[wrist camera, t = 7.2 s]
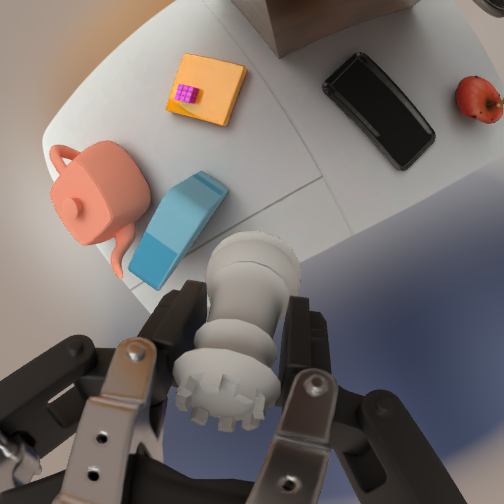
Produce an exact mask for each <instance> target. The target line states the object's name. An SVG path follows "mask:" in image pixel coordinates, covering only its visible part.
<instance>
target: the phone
mask: <svg viewBox="0 0 504 504" xmlns="http://www.w3.org/2000/svg"><path fill="white" fill-rule="evenodd" d="M322 87H323V91H324V93H325V94H326V95H327V96H328V97H329V98H330V99H331V100H332V101H333V102H335V103H336V104H337V105H338V106H339V107H340V108H341V109H342V110H343V111H344V112H345V113H346V114H347V115H348V116H349V117H350V118H351V119H352V120H353V121H354V122H355V123H356V124H357V125H358V126H359V127H360V128H361V129H362V131H363V132H364V133H365V134H366V135H367V136H368V137H369V138H370V139H371V140H372V141H373V143H374V144H375V145H376V146H377V147H378V148H379V149H380V150H381V152H382V153H383V154H384V155H385V156H386V157H387V159H388V160H389V161H390V162H391V163H392V165H393V166H394V167H395V168H397V169H399V170H401V171H404V170H407V169H408V168H409V167H410V166H411V165H412V164H413V163H414V162H415V161H416V160H417V159H418V158H419V157H420V156H421V155H422V154H423V153H424V152H425V151H426V150H427V149H428V148H429V147H430V146H431V145H432V144H433V143H434V141H435V138H436V135H435V132H434V130H433V129H432V128H431V126H430V125H429V124H428V122H427V121H426V120H425V118H424V117H423V116H422V115H421V113H420V112H419V111H418V110H417V108H416V107H415V106H414V105H413V103H412V102H411V101H410V100H409V99H408V98H407V96H406V95H405V94H404V93H403V92H402V91H401V90H400V88H399V87H398V86H397V85H396V84H395V83H394V82H393V81H392V80H391V79H390V78H389V77H388V75H387V74H386V73H385V72H384V71H383V70H382V69H381V68H380V67H379V66H378V65H377V64H376V63H375V62H374V61H373V60H372V59H370V58H369V57H368V56H367V55H366V54H364V53H362V52H358V53H355V54H354V55H353V56H352V57H350V58H349V59H348V60H347V61H346V62H345V63H344V64H343V65H342V66H341V67H340V68H339V69H337V70H336V71H335V72H334V73H333V74H332V75H331V76H330V77H329V78H328V79H327V80H326V81H325V82H324V84H323V86H322Z"/></svg>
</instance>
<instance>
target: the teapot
mask: <svg viewBox="0 0 504 504" xmlns="http://www.w3.org/2000/svg"><path fill="white" fill-rule="evenodd" d="M49 155H50V159H51V161H52V163H53V165H54V167H55V168H56V170H57V171H58V173H59V174H60V176H59V177H58V178H57V180H56V181H55V183H54V184H53V186H52V188H51V191H50V196H51V200H52V203H53V205H54V207H55V209H56V211H57V213H58V215H59V217H60V219H61V221H62V222H63V224H64V225H65V227H66V228H67V229H68V231H69V232H70V233H71V235H72V236H73V237H74V238H75V239H76V240H77V241H78V242H79V243H81V244H82V245H93V244H97V243H101V242H104V241H107V240H109V239H111V238H113V237H115V240H116V247H115V249H114V250H113V252H112V254H111V265H112V268H113V270H114V272H115V274H116V275H117V276H118V277H119V278H120V279H122V278H123V272H122V266H121V263H122V258H123V256H124V254H125V253H126V251H127V250H128V249H129V247H130V246H131V245H132V243H133V241H134V239H135V236H136V224H135V222H136V221H137V220H138V219H139V218H140V217H141V216H142V215H143V214H144V213H145V212H146V211H147V209H148V207H149V205H150V202H151V194H150V187H149V185H148V183H147V182H146V181H145V179H144V177H143V175H142V173H141V171H140V169H139V168H138V166H137V165H136V163H135V162H134V161H133V159H132V158H131V157H130V156H129V155H128V153H127V152H126V151H125V150H124V149H123V148H122V147H120V146H119V145H118V144H116V143H114V142H112V141H108V140H106V141H101V142H98V143H96V144H94V145H92V146H90V147H88V148H87V149H85V150H84V151H83V152H81V153H80V152H78V151H76V150H74V149H72V148H70V147H67V146H64V145H54V146H52V147H51V149H50V151H49ZM61 157H63V158H67V159H70V160H72V161H71V162H70V163H69V164H68V166H66V164H65V163H64V161H63V160H62V158H61Z"/></svg>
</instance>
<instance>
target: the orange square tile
mask: <svg viewBox="0 0 504 504" xmlns="http://www.w3.org/2000/svg"><path fill="white" fill-rule="evenodd" d="M246 72H247V69H246V67H245V66H242V65H238V64H234V63H230V62H226V61H222V60H217V59H213V58H208V57H203V56H198V55H192V54H186V53H185V54H184V56H183V58H182V61H181V64H180V67H179V69H178V72H177V75H176V78H175V81H174V84H173V87H172V90H171V93H170V96H169V99H168V103H167V106H166V109H165V110H166V111H170V112H174V113H178V114H182V115H186V116H190V117H193V118H197V119H201V120H204V121H208V122H211V123H215V124H218V125H221V126H227V125H228V122H229V119H230V116H231V113H232V110H233V108H234V105H235V102H236V99H237V96H238V94H239V91H240V88H241V86H242V83H243V80H244V78H245V75H246Z"/></svg>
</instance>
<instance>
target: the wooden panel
mask: <svg viewBox="0 0 504 504" xmlns="http://www.w3.org/2000/svg"><path fill="white" fill-rule="evenodd" d="M231 1H232V2H233V3H234V4H235V5H236V7H237V8H238V9H239V10H240V11H241V12H242V13H243V15H244V16H245V17H246V18H247V19H248V20H249V22H250V23H251V24H252V25H253V26H254V28H255V29H256V30H257V31H258V33H259V34H260V35H261V36H262V38H263V39H264V40H265V41H266V43H267V44H268V45H269V47H270V48H271V49H272V51H273V52H274V53H275V55H276V56H277V57H278V58H281V57H283V56H285V55H287V54H289V53H291V52H293V51H295V50H297V49H299V48H301V47H303V46H305V45H307V44H309V43H312V42H314V41H316V40H318V39H321V38H323V37H325V36H327V35H330V34H332V33H335V32H337V31H340V30H342V29H345V28H347V27H350V26H353V25H355V24H358V23H361V22H364V21H367V20H370V19H373V18H376V17H379V16H382V15H385V14H389V13H392V12H396V11H399V10H403V9H407V8H411V7H413V6H414V5H416V4H417V3H418V2H419V1H420V0H231Z"/></svg>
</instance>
